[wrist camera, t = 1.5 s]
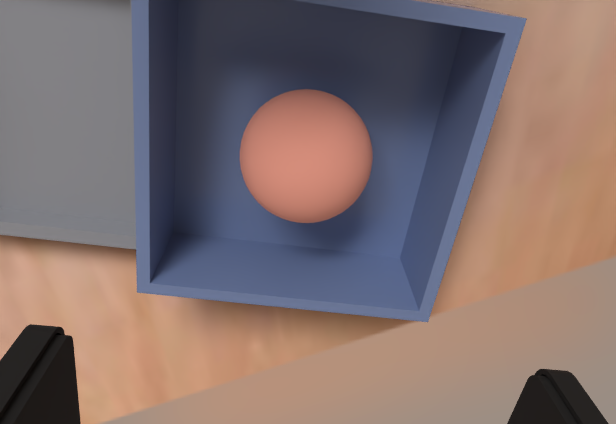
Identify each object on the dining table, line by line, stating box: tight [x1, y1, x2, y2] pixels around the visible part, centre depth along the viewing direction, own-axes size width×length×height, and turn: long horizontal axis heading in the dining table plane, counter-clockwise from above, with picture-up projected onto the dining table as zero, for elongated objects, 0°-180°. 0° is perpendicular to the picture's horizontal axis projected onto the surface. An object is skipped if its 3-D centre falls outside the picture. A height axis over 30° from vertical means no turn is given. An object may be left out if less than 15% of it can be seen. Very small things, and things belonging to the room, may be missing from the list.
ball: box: [240, 89, 373, 223], centre depth 22 cm, size 6×6×6 cm
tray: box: [0, 0, 136, 249], centre depth 23 cm, size 10×14×2 cm
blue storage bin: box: [131, 0, 526, 322], centre depth 23 cm, size 14×14×6 cm
